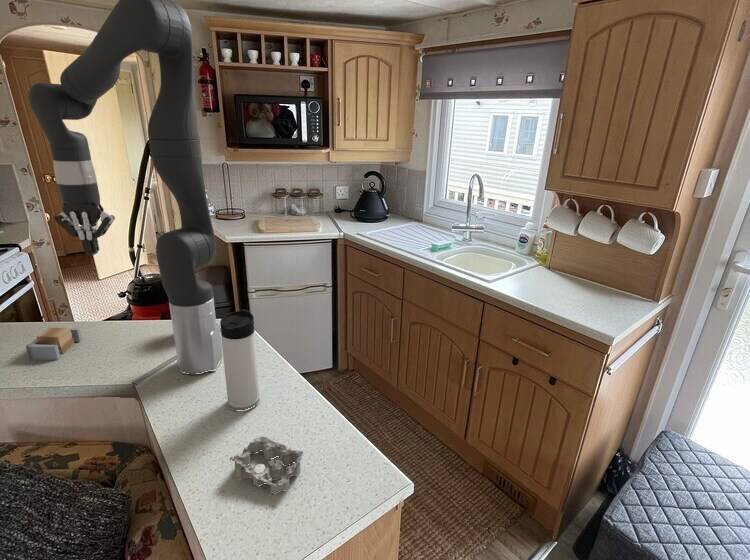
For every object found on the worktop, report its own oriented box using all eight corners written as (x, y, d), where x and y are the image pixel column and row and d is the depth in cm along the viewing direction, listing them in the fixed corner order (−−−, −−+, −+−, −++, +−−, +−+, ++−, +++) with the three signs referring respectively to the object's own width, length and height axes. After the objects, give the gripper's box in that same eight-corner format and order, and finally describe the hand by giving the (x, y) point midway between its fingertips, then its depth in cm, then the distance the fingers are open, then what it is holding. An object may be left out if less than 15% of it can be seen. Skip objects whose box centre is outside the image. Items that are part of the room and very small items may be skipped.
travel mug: (265, 395, 90) (260, 311, 83) (249, 415, 84) (242, 326, 77) (240, 390, 91) (232, 307, 84) (221, 408, 85) (212, 320, 78)
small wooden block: (75, 344, 106) (71, 326, 104) (61, 356, 101) (56, 338, 99) (55, 344, 106) (50, 326, 104) (39, 355, 101) (34, 337, 99)
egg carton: (228, 477, 70) (225, 457, 68) (258, 447, 76) (256, 429, 75) (280, 501, 66) (279, 481, 64) (307, 468, 72) (306, 449, 71)
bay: (82, 340, 108) (79, 328, 107) (57, 359, 99) (54, 346, 98) (56, 339, 108) (53, 327, 107) (29, 359, 99) (25, 346, 98)
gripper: (116, 179, 98) (128, 250, 105) (57, 177, 97) (73, 248, 104) (98, 184, 91) (112, 259, 98) (34, 182, 90) (53, 258, 97)
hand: (92, 253), depth 101 cm, fingers closed
